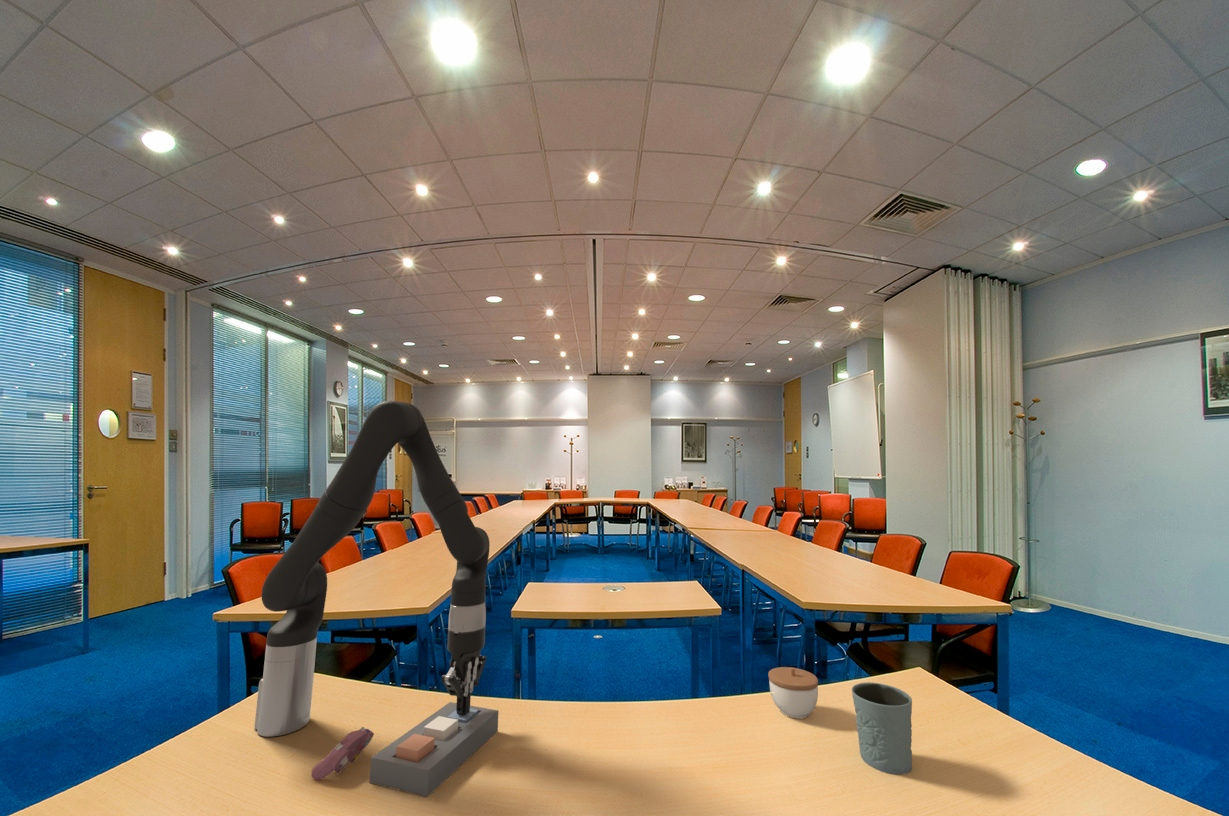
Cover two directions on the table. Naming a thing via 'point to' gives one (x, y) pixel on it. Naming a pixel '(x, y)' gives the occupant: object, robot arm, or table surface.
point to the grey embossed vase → (884, 726)
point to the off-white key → (441, 728)
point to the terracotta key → (415, 748)
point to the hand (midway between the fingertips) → (462, 713)
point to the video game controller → (343, 753)
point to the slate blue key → (463, 716)
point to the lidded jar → (793, 691)
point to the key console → (433, 753)
